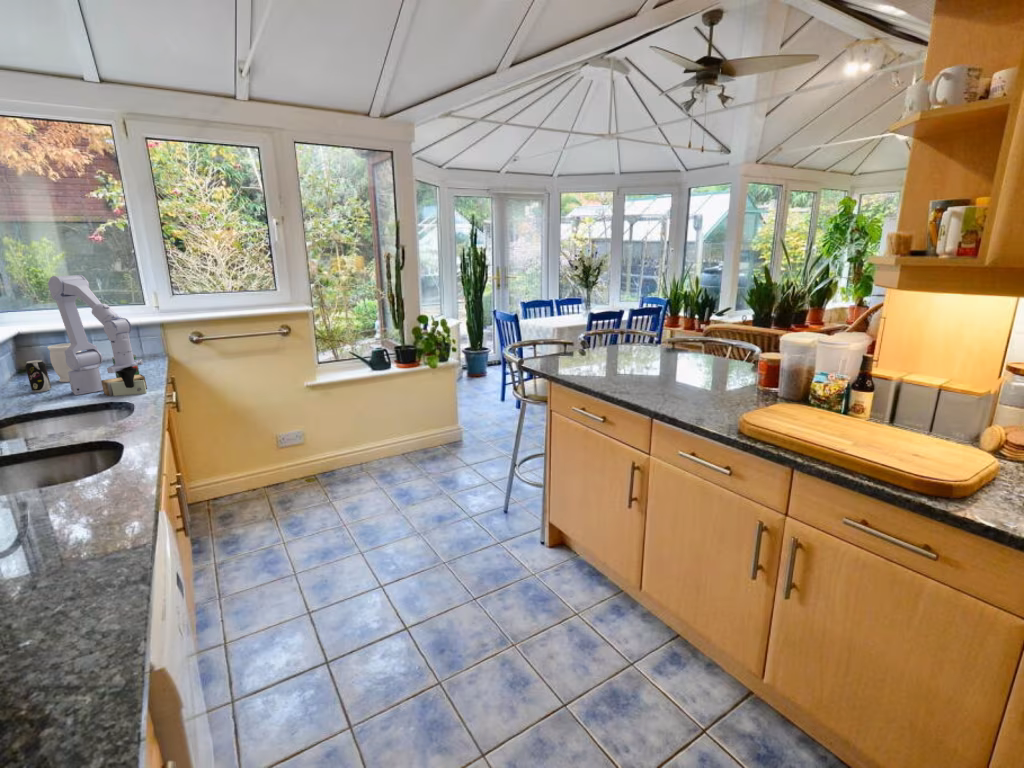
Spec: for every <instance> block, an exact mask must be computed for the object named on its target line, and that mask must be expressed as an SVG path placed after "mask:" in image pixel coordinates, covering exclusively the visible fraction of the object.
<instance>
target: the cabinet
mask: <svg viewBox="0 0 1024 768" xmlns="http://www.w3.org/2000/svg"><path fill="white" fill-rule="evenodd" d="M139 380H144V382H145V387H146V390H147V389H148V385H147V381H146V377H145V375H143V374H140V373H139V375H134V379H133V381H139ZM101 382H102V386H103V391H102V392H103V394H105V395H106V396H107V397H111V396H110V394H109V389H108V385H107V383H112V382H124V381H123V379H122V378H121V377H120V378H116V377H115V378H110V379H109V378H108V379H103V380H102V379H101ZM111 387H112V386H111ZM112 392H113V390H112Z"/></svg>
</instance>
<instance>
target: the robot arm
mask: <svg viewBox="0 0 1024 768" xmlns="http://www.w3.org/2000/svg"><path fill="white" fill-rule="evenodd" d="M47 286H48V289H49V291H50V295H51V298H52V299H53V300H54V301H55V302H56V305H57V309H58V311H59V313H60V317H61V319H62V322H63V323H62V324H63V325H64V328H65V330H66V335H67V337H68V340H69V343H71V345H70V346H69V347H68V348H67V349H66V350H65V355H66V363H67V365H68V367H69V368H71V369H72V370H73V371H68V376H69V381H70V382H69V384H70V389H71V392H72V393H73V394H74V395H75V396H78V395H83V394H91V393H96V392H104V391H103V386H102V382H101V380H102V377H101V373H100V368H101V364H102V363H103V359H104V358H103V356H102V353H101V352H100V350H99V348H98V346H97V345H95V344H93V343H91V342H89V339H88V336H87V334H86V331H85V329H84V325H83V322H82V319H81V317H80V312H79V310H78V308H77V307H78V306H77V303H76V300H77V299H78V298H79V299H80V300H81V301H83V302H84V303H85V304H86V305H87V306H88V307H90V308H91V314H92V315H93V316H94V317H95V319H96V320H98V321H99V323H101V324H102V326H103V331H104V333H105V334H106V336H107V339H108V340H109V342H110V344H111V345H110V346H111V350H112V354H113V357H114V360H115V365H114V364H113V365H111V366H108V367H106V370H107V371H106V372H107V374H114V373H115V372H116V373H117V374H119V376H120V377H121V378H122V379H123V381H124V384H125V386H126V388H132V387H134V382H133V379H134V375H135V373H136V371H137V369H136V368H133V367H134V366H137V365H138V366H141V365H144V361H143V359H137V358H136V359H137V360H134V357H133V354H134V353H133V348H132V344H131V340H130V338H131V337H130V333H131V332H132V325H131V322H130V321H129V319H128V318H125V317H122V316H119V315H118V314H117V313H116V312H115V311H114V310H113V309H112V308H111V307H110V306H109V304H107V303H102V301H100V299H99V298H98V297H97V296H96V295H95V294H94V292H93V291H92V290H91V289H90V283H89V281H88V280H87V278H86V277H85V276H83V275H82V274H75V275H72V274H71V275H52V276H50V277H49V279H48V282H47ZM78 351H81V352H78ZM77 352H78V353H77Z"/></svg>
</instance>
